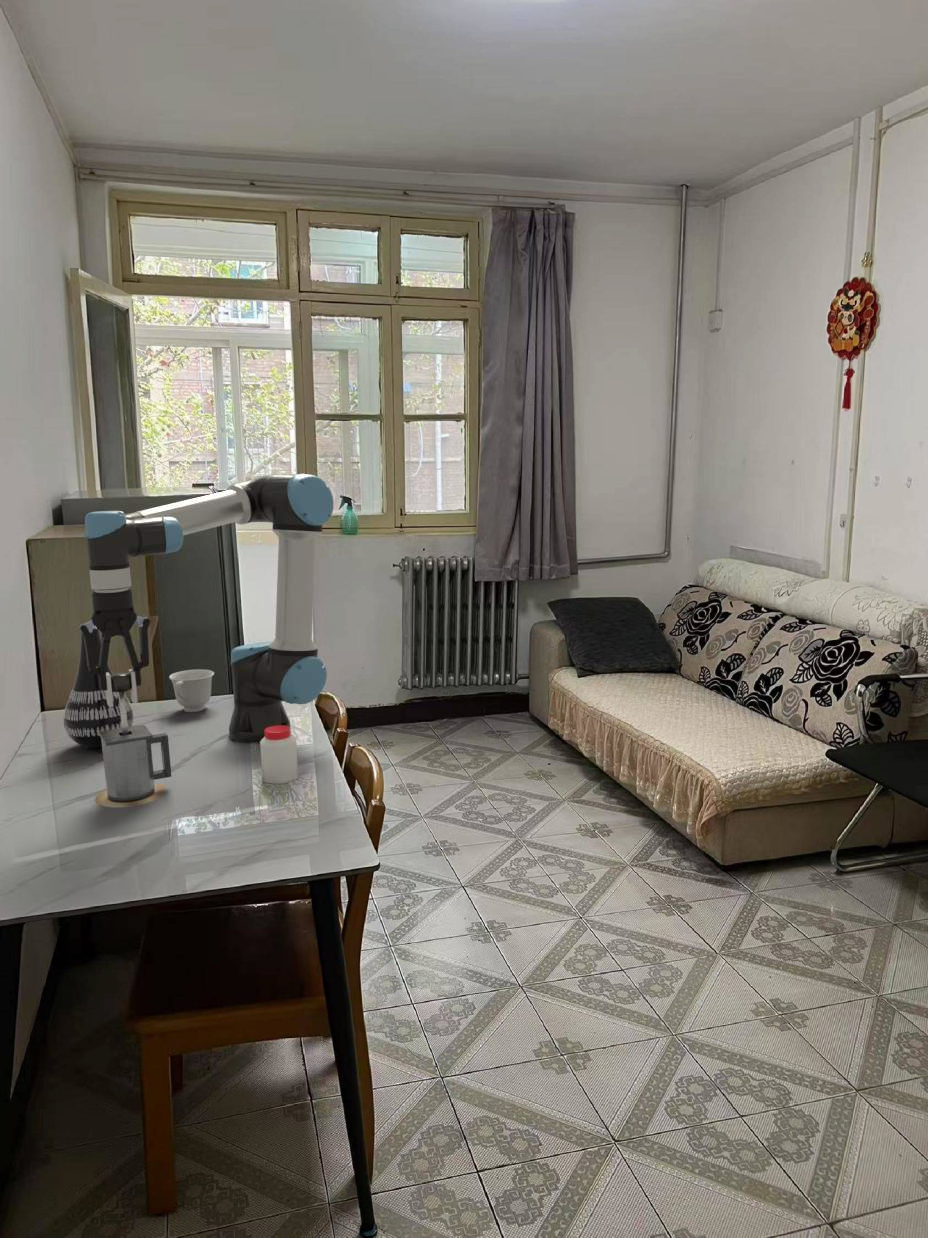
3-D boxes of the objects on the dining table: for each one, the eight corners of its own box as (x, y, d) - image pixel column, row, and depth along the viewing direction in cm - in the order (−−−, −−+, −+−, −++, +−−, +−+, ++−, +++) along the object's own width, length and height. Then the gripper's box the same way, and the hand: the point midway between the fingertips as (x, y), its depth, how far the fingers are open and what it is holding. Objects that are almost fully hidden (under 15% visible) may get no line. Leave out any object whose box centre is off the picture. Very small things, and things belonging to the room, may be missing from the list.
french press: (166, 780, 199) (161, 721, 196) (176, 793, 191) (170, 732, 188) (104, 792, 192) (98, 731, 190) (111, 806, 185) (105, 743, 182)
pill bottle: (305, 774, 203) (302, 725, 201) (284, 785, 196) (281, 736, 194) (276, 769, 206) (273, 722, 204) (255, 781, 199) (251, 732, 197)
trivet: (159, 781, 200) (159, 777, 200) (173, 801, 188) (173, 798, 188) (90, 794, 194) (90, 790, 193) (101, 816, 182) (100, 812, 181)
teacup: (158, 718, 249) (155, 682, 247) (184, 703, 263) (181, 668, 261) (200, 719, 247) (197, 682, 245) (223, 703, 261) (221, 669, 259)
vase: (136, 732, 236) (125, 619, 231) (135, 751, 221) (123, 630, 216) (69, 740, 231) (56, 624, 226) (63, 759, 217) (50, 636, 211)
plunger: (143, 758, 194) (135, 669, 191) (150, 768, 188) (141, 676, 185) (107, 765, 191) (98, 674, 188) (113, 775, 185) (103, 681, 181)
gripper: (152, 583, 190) (161, 693, 195) (62, 591, 182) (75, 705, 186) (159, 587, 184) (169, 701, 188) (67, 596, 176) (80, 714, 180)
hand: (122, 703), depth 187 cm, fingers closed on plunger, 4 cm apart
